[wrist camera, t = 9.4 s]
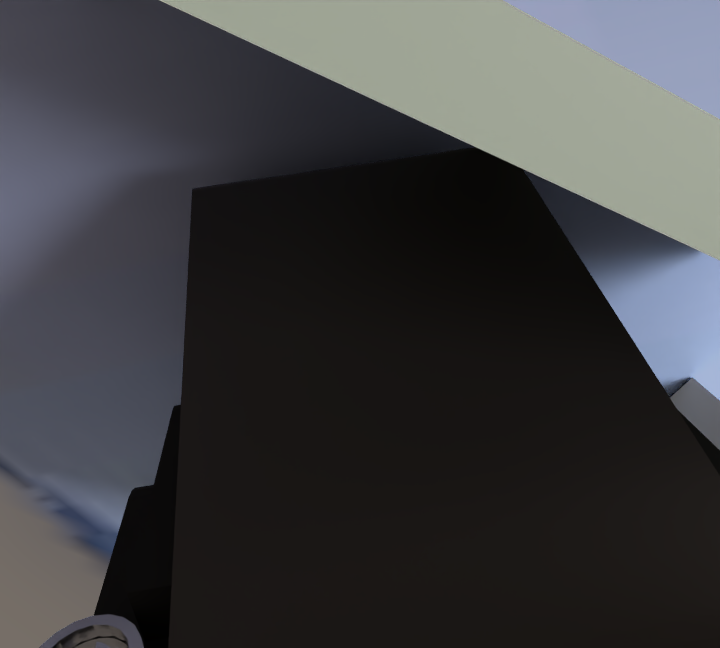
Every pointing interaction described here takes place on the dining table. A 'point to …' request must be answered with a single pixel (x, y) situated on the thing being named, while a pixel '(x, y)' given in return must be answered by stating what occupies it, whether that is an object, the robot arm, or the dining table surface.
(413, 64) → the door
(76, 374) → the dining table surface
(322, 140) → the dining table surface
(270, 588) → the phone stand
